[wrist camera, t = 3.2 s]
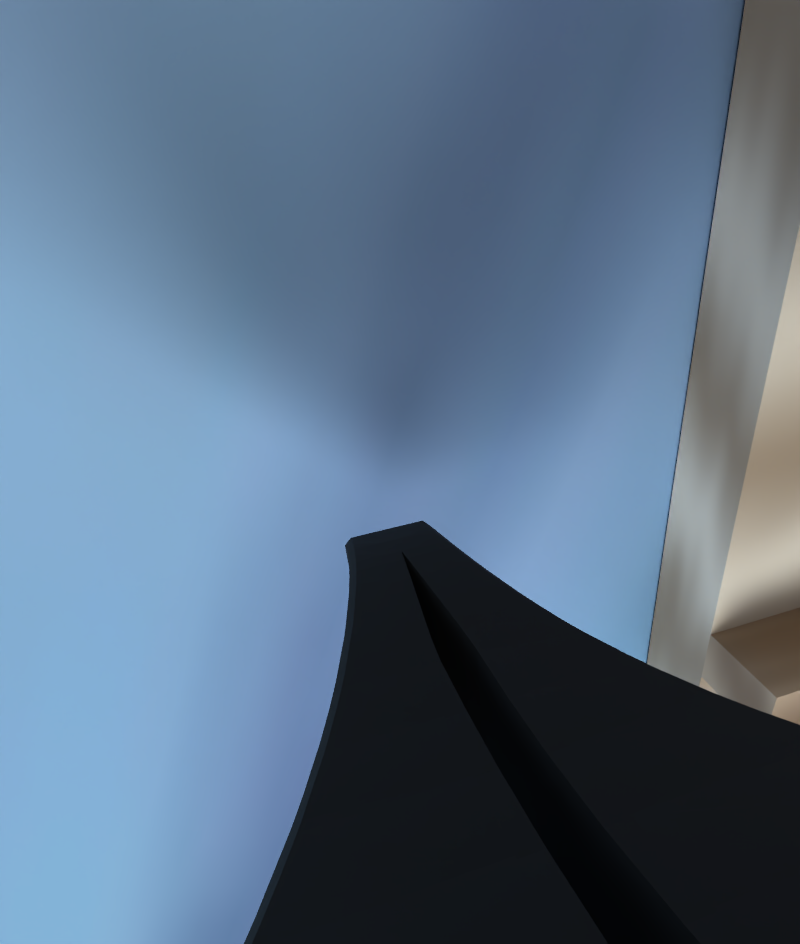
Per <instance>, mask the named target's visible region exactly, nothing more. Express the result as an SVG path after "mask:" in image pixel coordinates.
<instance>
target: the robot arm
mask: <svg viewBox="0 0 800 944" xmlns="http://www.w3.org/2000/svg"><path fill="white" fill-rule="evenodd" d="M345 547H346V553H347V558H348V563H349V574H350V578H349V600H348V610H347V620H346V629H345V636H344V642H343V647H342V652H341V658H340V663H339V669H338V674H337V679H336V684H335V688H334V692H333V697H332V701H331V705H330V709H329V713H328V716H327V720H326V724H325V727H324V731H323V734H322V738H321V741H320V745H319V748H318V751H317V754H316V757H315V761H314V764H313V767H312V770H311V773H310V776H309V779H308V782H307V785H306V788H305V791H304V795H303V797H302V800H301V803H300V806H299V809H298V812H297V814H296V817H295V820H294V823H293V825H292V828H291V831H290V833H289V836H288V838H287V841H286V843H285V846H284V848H283V851H282V853H281V856H280V858H279V860H278V863H277V865H276V868H275V870H274V873H273V875H272V878H271V880H270V883H269V885H268V888H267V890H266V893H265V895H264V898H263V900H262V903H261V905H260V908H259V910H258V912H257V915H256V917H255V920H254V922H253V924H252V927H251V929H250V931H249V933H248V936H247V938H246V940H245V943H244V944H800V725H799V724H796V723H793V722H790V721H788V720H785V719H782V718H779V717H776V716H773V715H771V714H768V713H765V712H762V711H759V710H757V709H754V708H751V707H749V706H746V705H744V704H741V703H739V702H736V701H733V700H731V699H728V698H726V697H723V696H720V695H718V694H715V693H713V692H710V691H708V690H706V689H703V688H701V687H699V686H697V685H694V684H692V683H690V682H687V681H685V680H683V679H680V678H678V677H676V676H673V675H671V674H669V673H666V672H664V671H662V670H659V669H657V668H655V667H653V666H651V665H648V664H646V663H644V662H642V661H640V660H638V659H636V658H634V657H631V656H629V655H627V654H625V653H623V652H622V651H620V650H618V649H616V648H614V647H612V646H610V645H608V644H606V643H604V642H602V641H600V640H598V639H596V638H594V637H592V636H591V635H589V634H587V633H585V632H583V631H581V630H579V629H578V628H576V627H574V626H572V625H570V624H569V623H567V622H565V621H564V620H562V619H560V618H559V617H557V616H555V615H554V614H552V613H551V612H549V611H547V610H546V609H544V608H542V607H541V606H539V605H538V604H536V603H534V602H533V601H531V600H530V599H528V598H527V597H525V596H524V595H522V594H521V593H519V592H518V591H516V590H515V589H513V588H512V587H511V586H509V585H508V584H506V583H505V582H503V581H502V580H501V579H499V578H498V577H496V576H495V575H493V574H492V573H491V572H489V571H488V570H486V569H485V568H484V567H482V566H481V565H480V564H478V563H477V562H475V561H474V560H473V559H472V558H470V557H469V556H468V555H466V554H465V553H464V552H462V551H461V550H460V549H459V548H457V547H456V546H455V545H453V544H452V543H451V542H450V541H448V540H447V539H446V538H445V537H443V536H442V535H441V534H440V533H438V532H437V531H436V530H435V529H433V528H432V527H431V526H430V525H428V524H427V523H425V522H424V521H419V522H415V523H411V524H407V525H403V526H398V527H394V528H390V529H386V530H382V531H378V532H373V533H369V534H365V535H361V536H357V537H353V538H350V540H349V541H348V542H347V544H346V545H345Z"/></svg>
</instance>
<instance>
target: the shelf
mask: <svg viewBox="0 0 800 944" xmlns="http://www.w3.org/2000/svg"><path fill="white" fill-rule="evenodd" d="M647 664H648V665H651V666H653V667H655V668H657V669H659V670H662V671H664V672H666V673H669V674H671V675H673V676H676V677H678V678H680V679H683V680H685V681H687V682H690V683H692V684H694V685H697V686H699V687H701V688H703V689H706V690H708V691H710V692H713V693H715V694H718V695H720V696H723V697H726V698H728V699H731V700H733V701H736V702H739V703H741V704H744V705H746V706H749V707H751V708H754V709H757V710H759V711H762V712H765V713H768V714H771V715H773V716H776V717H779V718H782V719H785V720H788V721H790V722H793V723H796V724H799V725H800V0H745V6H744V13H743V20H742V26H741V33H740V40H739V46H738V53H737V60H736V67H735V73H734V80H733V87H732V94H731V100H730V107H729V114H728V121H727V127H726V134H725V141H724V147H723V154H722V161H721V168H720V174H719V181H718V188H717V195H716V201H715V208H714V215H713V222H712V228H711V235H710V242H709V248H708V255H707V262H706V269H705V275H704V282H703V289H702V296H701V302H700V309H699V316H698V323H697V329H696V336H695V343H694V349H693V356H692V363H691V370H690V376H689V383H688V390H687V397H686V403H685V410H684V417H683V424H682V430H681V437H680V444H679V450H678V457H677V464H676V471H675V477H674V484H673V491H672V498H671V504H670V511H669V518H668V525H667V531H666V538H665V545H664V551H663V558H662V565H661V572H660V578H659V585H658V592H657V599H656V605H655V612H654V619H653V626H652V632H651V639H650V646H649V652H648V659H647Z"/></svg>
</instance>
